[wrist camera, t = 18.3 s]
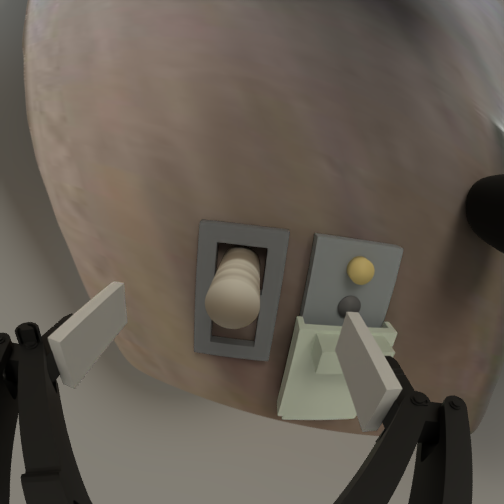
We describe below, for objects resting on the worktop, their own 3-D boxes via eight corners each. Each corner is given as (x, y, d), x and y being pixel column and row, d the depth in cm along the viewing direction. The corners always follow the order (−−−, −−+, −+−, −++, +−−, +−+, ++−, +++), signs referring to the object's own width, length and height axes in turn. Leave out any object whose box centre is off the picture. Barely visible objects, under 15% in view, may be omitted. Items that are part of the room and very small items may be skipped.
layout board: (314, 232, 25) (320, 239, 23) (396, 244, 25) (409, 251, 23) (293, 342, 29) (296, 356, 26) (368, 345, 29) (375, 358, 26)
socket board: (202, 219, 25) (199, 221, 24) (288, 229, 25) (289, 231, 24) (196, 345, 29) (193, 351, 28) (267, 354, 29) (268, 361, 28)
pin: (225, 241, 26) (208, 274, 17) (263, 248, 26) (264, 285, 17) (219, 277, 27) (202, 323, 18) (256, 284, 27) (254, 333, 18)
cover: (296, 316, 26) (304, 347, 21) (388, 321, 26) (410, 349, 21) (275, 404, 29) (277, 438, 24) (354, 405, 29) (364, 435, 24)
